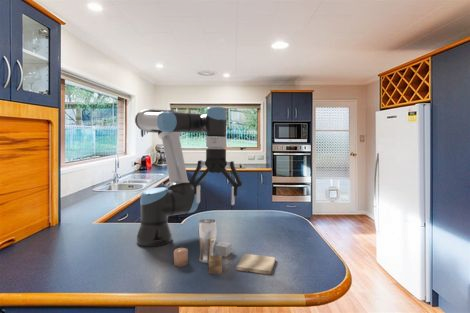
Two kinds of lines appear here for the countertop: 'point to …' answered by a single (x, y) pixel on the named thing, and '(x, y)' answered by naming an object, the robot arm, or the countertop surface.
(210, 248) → the silver metal cup
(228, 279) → the countertop surface
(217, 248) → the grey plastic box
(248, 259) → the beech board
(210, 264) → the oak cube
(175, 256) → the peach rounded capsule
